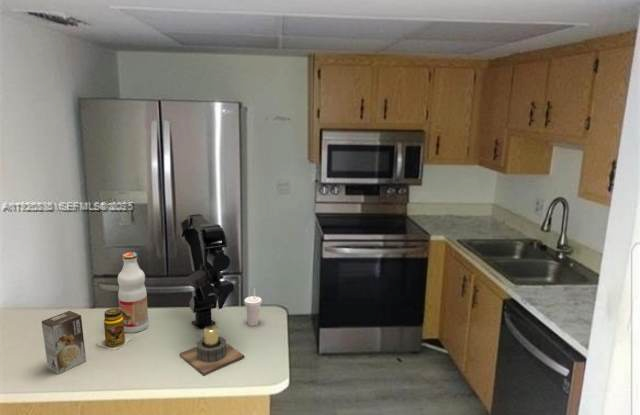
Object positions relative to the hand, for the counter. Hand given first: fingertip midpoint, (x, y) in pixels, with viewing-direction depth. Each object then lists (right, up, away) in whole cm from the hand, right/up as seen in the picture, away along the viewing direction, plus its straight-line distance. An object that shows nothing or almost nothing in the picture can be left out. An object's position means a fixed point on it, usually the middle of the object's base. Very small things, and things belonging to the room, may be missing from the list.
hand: (213, 304), depth 164 cm
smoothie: (+12, -10, +15) cm, 22 cm away
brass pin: (+2, -15, -9) cm, 17 cm away
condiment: (-34, -13, -1) cm, 36 cm away
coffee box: (-42, -16, -15) cm, 48 cm away
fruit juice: (-31, -10, +10) cm, 34 cm away
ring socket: (+2, -15, -9) cm, 18 cm away
